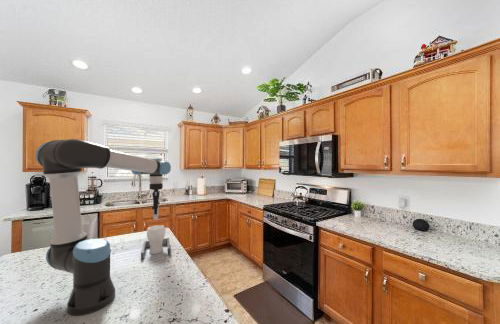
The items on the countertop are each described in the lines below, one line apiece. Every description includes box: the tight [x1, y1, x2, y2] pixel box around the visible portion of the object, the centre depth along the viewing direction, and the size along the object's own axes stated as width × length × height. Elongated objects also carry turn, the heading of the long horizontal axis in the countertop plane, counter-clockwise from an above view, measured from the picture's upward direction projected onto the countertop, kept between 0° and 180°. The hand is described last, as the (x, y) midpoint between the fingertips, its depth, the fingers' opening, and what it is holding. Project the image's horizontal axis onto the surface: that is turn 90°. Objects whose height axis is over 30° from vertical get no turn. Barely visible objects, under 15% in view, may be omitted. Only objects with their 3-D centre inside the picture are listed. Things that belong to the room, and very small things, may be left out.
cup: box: [146, 224, 166, 255], centre depth 128 cm, size 11×11×15 cm
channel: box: [140, 237, 171, 261], centre depth 129 cm, size 19×15×4 cm
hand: (156, 216), depth 129 cm, fingers open, 13 cm apart
